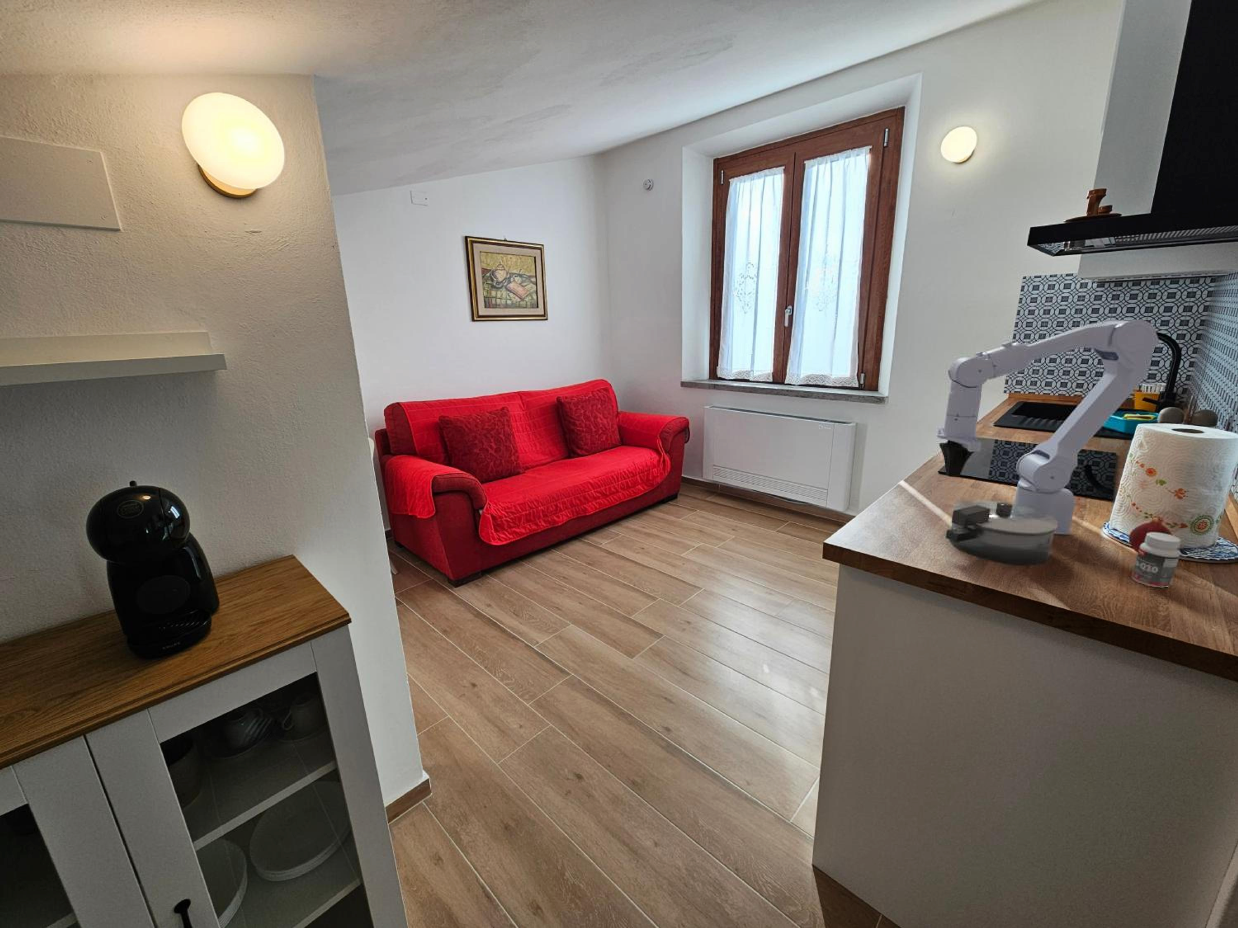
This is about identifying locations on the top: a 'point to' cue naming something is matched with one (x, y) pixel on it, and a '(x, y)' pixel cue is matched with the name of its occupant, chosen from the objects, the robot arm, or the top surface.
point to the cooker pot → (1001, 545)
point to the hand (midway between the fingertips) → (952, 476)
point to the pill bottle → (1157, 560)
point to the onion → (1141, 531)
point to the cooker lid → (1003, 517)
